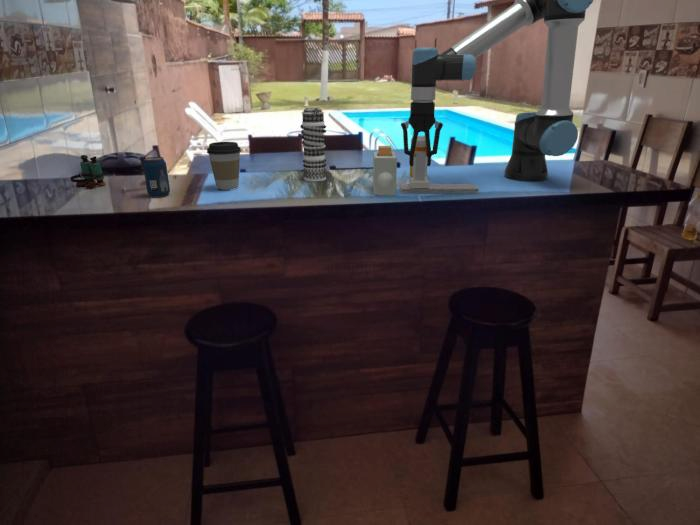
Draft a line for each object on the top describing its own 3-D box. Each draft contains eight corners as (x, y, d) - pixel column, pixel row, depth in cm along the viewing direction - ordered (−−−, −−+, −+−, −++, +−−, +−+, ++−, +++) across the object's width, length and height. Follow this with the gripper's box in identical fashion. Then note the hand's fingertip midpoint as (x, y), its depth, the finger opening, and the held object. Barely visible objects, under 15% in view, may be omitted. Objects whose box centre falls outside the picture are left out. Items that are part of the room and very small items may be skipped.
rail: (473, 188, 169) (473, 183, 168) (478, 193, 162) (478, 188, 162) (399, 188, 169) (399, 184, 169) (401, 193, 163) (401, 189, 162)
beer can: (425, 180, 181) (427, 137, 175) (408, 179, 182) (410, 137, 176) (426, 176, 186) (428, 135, 181) (410, 175, 188) (411, 135, 182)
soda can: (153, 192, 166) (147, 156, 161) (173, 192, 165) (168, 156, 161) (144, 198, 159) (138, 160, 155) (165, 198, 159) (160, 160, 154)
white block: (393, 186, 171) (394, 151, 167) (395, 195, 160) (397, 158, 155) (373, 186, 172) (373, 151, 167) (374, 195, 160) (374, 158, 156)
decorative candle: (318, 182, 178) (316, 109, 169) (297, 179, 183) (294, 108, 173) (332, 177, 185) (331, 107, 176) (312, 175, 190) (309, 106, 180)
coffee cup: (229, 182, 179) (224, 140, 173) (251, 186, 173) (248, 142, 167) (203, 189, 170) (198, 144, 164) (226, 193, 164) (221, 147, 158)
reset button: (390, 161, 164) (390, 145, 162) (391, 163, 160) (391, 147, 159) (378, 161, 164) (378, 145, 162) (378, 163, 161) (379, 147, 159)
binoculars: (60, 161, 167) (85, 153, 175) (69, 190, 172) (93, 182, 180) (78, 162, 164) (103, 154, 172) (87, 193, 169) (111, 184, 177)
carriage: (426, 183, 168) (428, 150, 164) (429, 188, 162) (431, 154, 158) (408, 183, 168) (410, 150, 164) (410, 188, 162) (412, 154, 158)
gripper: (446, 100, 158) (442, 173, 167) (396, 100, 159) (394, 173, 167) (450, 102, 151) (445, 178, 160) (397, 102, 152) (395, 178, 161)
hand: (419, 175), depth 164 cm, fingers closed on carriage, 3 cm apart
